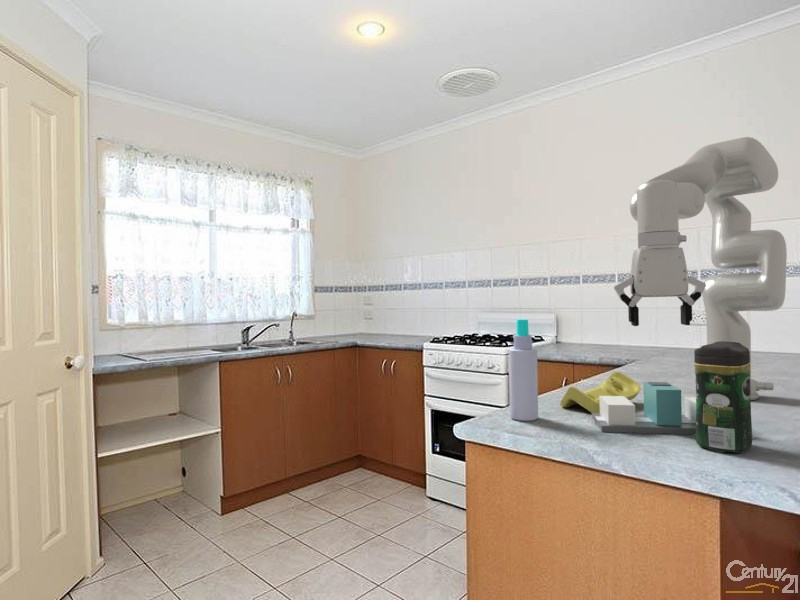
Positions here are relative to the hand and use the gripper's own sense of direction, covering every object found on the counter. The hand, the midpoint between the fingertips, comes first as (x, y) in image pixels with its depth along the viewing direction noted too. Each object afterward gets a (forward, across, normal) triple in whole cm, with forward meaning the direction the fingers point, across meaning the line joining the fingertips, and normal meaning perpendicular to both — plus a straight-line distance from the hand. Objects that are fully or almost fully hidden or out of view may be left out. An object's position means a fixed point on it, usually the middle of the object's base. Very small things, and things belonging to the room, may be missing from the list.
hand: (659, 325), depth 104 cm
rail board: (+21, +1, +2) cm, 21 cm away
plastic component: (+21, +8, -16) cm, 28 cm away
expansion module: (+19, 0, +2) cm, 19 cm away
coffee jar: (+21, -6, +14) cm, 26 cm away
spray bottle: (+21, +28, -3) cm, 35 cm away
